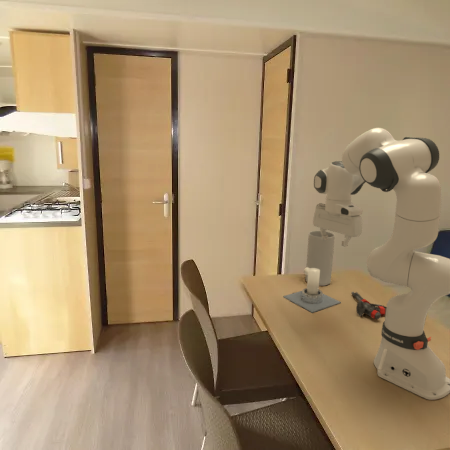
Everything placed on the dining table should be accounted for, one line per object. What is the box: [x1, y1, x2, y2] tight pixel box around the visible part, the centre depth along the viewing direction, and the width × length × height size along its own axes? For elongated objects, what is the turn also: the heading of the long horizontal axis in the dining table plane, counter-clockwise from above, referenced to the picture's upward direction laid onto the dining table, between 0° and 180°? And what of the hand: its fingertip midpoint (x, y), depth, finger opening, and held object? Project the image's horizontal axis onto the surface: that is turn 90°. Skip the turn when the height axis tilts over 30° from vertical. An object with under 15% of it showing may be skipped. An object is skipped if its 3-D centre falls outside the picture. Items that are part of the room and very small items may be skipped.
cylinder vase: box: [305, 230, 336, 287], centre depth 184 cm, size 12×12×25 cm
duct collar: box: [301, 287, 324, 304], centre depth 165 cm, size 9×9×4 cm
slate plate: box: [283, 290, 342, 314], centre depth 165 cm, size 18×18×1 cm
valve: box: [351, 291, 387, 320], centre depth 159 cm, size 6×26×15 cm
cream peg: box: [303, 267, 320, 295], centre depth 165 cm, size 8×5×14 cm, turn 18°
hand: (334, 242), depth 138 cm, fingers open, 8 cm apart
